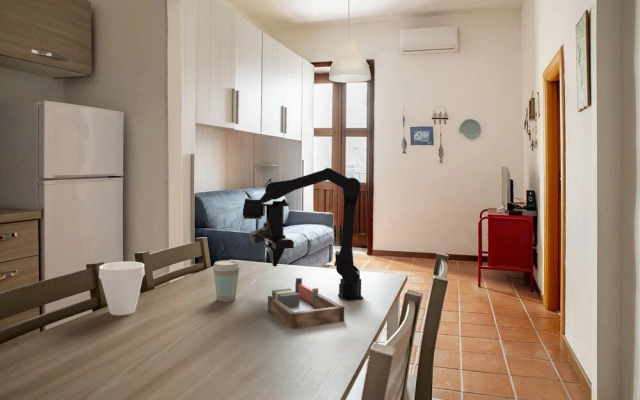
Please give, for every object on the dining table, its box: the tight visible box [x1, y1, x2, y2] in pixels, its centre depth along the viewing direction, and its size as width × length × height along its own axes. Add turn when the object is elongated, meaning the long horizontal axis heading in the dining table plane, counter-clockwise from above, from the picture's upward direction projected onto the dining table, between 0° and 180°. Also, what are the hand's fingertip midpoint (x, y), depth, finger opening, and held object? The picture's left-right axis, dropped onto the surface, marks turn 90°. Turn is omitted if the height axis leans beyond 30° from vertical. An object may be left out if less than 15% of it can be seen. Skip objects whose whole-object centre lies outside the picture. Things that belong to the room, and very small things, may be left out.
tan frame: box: [267, 293, 345, 330], centre depth 138 cm, size 16×18×4 cm
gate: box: [294, 277, 319, 306], centre depth 155 cm, size 15×2×6 cm, turn 27°
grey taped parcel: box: [271, 288, 300, 308], centre depth 151 cm, size 6×8×4 cm
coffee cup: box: [212, 259, 241, 303], centre depth 154 cm, size 8×8×12 cm
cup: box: [98, 260, 146, 316], centre depth 139 cm, size 12×12×14 cm
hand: (274, 266), depth 160 cm, fingers closed
